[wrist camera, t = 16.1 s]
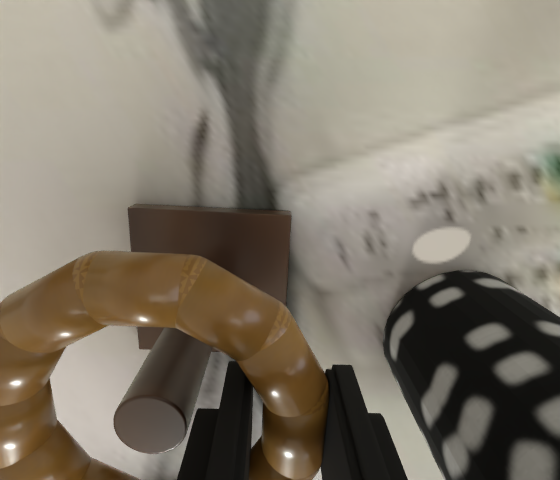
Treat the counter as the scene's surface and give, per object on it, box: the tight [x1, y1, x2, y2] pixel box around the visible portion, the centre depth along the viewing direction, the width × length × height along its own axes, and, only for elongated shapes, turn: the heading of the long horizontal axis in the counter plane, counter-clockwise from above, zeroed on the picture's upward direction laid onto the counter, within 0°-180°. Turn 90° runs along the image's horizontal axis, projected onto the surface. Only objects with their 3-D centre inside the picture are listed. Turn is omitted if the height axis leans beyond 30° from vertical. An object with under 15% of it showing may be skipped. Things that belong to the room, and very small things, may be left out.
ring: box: [0, 251, 329, 480], centre depth 10 cm, size 10×10×2 cm
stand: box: [114, 204, 291, 454], centre depth 14 cm, size 8×8×10 cm
